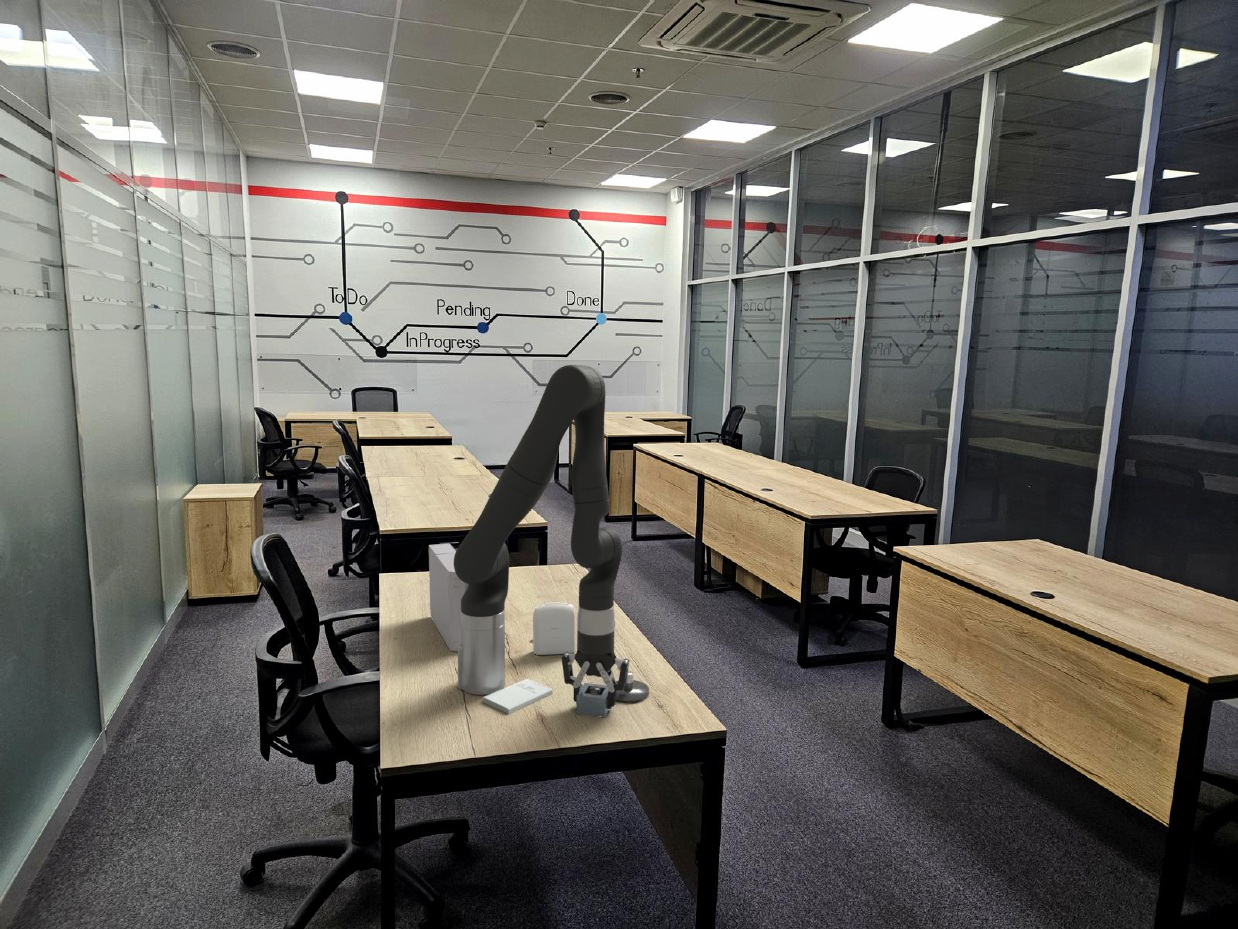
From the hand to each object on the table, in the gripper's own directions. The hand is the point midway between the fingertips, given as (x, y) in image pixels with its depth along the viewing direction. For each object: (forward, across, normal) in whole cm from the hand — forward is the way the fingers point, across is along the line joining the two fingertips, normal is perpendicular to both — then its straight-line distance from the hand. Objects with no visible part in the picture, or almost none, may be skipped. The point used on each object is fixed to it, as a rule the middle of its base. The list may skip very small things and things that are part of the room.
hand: (594, 705), depth 156 cm
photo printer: (+1, -17, +26) cm, 31 cm away
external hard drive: (+2, -17, +1) cm, 17 cm away
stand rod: (+1, 0, 0) cm, 1 cm away
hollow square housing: (+1, 0, 0) cm, 1 cm away
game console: (+1, -47, +31) cm, 56 cm away
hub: (+1, +5, +9) cm, 10 cm away
